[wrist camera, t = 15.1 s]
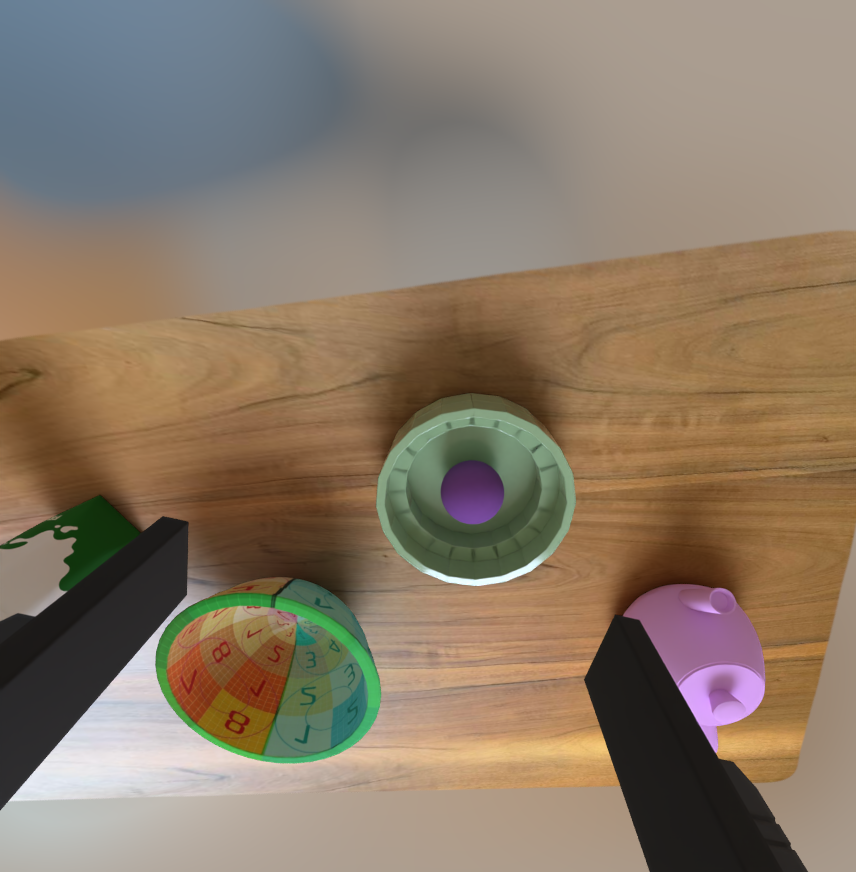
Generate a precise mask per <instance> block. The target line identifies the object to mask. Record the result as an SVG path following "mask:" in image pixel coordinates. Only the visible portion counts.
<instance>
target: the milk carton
mask: <svg viewBox="0 0 856 872" xmlns="http://www.w3.org/2000/svg"><path fill="white" fill-rule="evenodd" d="M140 534H141V533H140V532H139V531H138V530H137V529H136V528H135V527H134V526H133V525H131V524H130V523H129V522H128V521H127V520H126V519H125V518H124V517H123V516H122V515H121V514H120V513H119V512H118V511H117V510H115V509H114V508H113V507H112V506H111V505H110V504H109V503H108V502H107V501H106V500H105V499H104V498H103V497H102V496H101V495H99V496H97V497H95V498H92V499H90V500H88V501H86V502H84V503H82V504H80V505H77V506H75V507H73V508H71V509H69V510H67V511H65V512H62V513H60V514H58V515H56V516H54V517H52V518H50V519H48V520H46V521H44V522H42V523H40V524H38V525H36V526H34V527H33V528H31V529H29V530H27V531H25V532H24V533H22V534H20V535H18V536H17V537H15V538H13V539H11V540H10V541H8V542H6V543H4V544H2V545H1V546H0V621H2V620H4V619H6V618H8V617H10V616H12V615H14V614H16V613H21V614H25V615H30V616H37V615H38V614H39V613H40V612H42V611H43V610H44V609H46V608H47V607H48V606H49V605H51V604H52V603H53V602H54V601H56V600H57V599H58V598H60V597H61V596H62V595H63V594H65V593H66V592H67V591H68V590H70V589H71V588H72V587H73V586H75V585H76V584H77V583H79V582H80V581H81V580H82V579H84V578H85V577H86V576H87V575H89V574H90V573H91V572H93V571H94V570H95V569H96V568H98V567H99V566H100V565H101V564H103V563H104V562H105V561H107V560H108V559H109V558H110V557H112V556H113V555H114V554H115V553H117V552H118V551H119V550H121V549H122V548H123V547H124V546H126V545H127V544H128V543H129V542H131V541H132V540H133V539H135V538H136V537H137V536H138V535H140Z"/></svg>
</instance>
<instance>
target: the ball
mask: <svg viewBox="0 0 856 872" xmlns="http://www.w3.org/2000/svg"><path fill="white" fill-rule="evenodd" d="M441 499H442V503H443V505H444V507H445V509H446V510H447V512H448V513H449V514H450V515H451V516H452V517H453V518H455V519H456V520H458V521H460V522H462V523H466V524H480V523H483V522H486V521H488V520H490V519H491V518H492V517H494V516H495V515H496V514H497V512H498V511H499V509H500V508H501V506H502V503H503V500H504V486H503V482H502V480H501V478H500V476H499V474H498V473H497V472H496V471H495V470H494V469H493V468H492V467H491V466H489V465H488V464H486V463H484V462H481V461H476V460H468V461H463V462H460V463H458V464H456V465H455V466H453V467H452V468H451V469H450V470H449V471H448V472H447V473H446V475H445V476H444V478H443V481H442V484H441Z"/></svg>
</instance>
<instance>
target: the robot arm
mask: <svg viewBox="0 0 856 872" xmlns="http://www.w3.org/2000/svg"><path fill="white" fill-rule="evenodd" d="M187 565H188V522H187V521H183V520H178V519H174V518H169V517H164V516H163V517H161V518H160V519H159V520H157V521H156V522H155V523H154V524H152V525H151V526H150V527H149V528H147V529H146V530H145V531H143V532H142V533H141V534H140V535H138V536H137V537H136V538H135V539H133V540H132V541H131V542H129V543H128V544H127V545H126V546H124V547H123V548H122V549H121V550H119V551H118V552H117V553H115V554H114V555H113V556H112V557H110V558H109V559H108V560H107V561H105V562H104V563H103V564H101V565H100V566H99V567H98V568H96V569H95V570H94V571H93V572H91V573H90V574H89V575H87V576H86V577H85V578H84V579H82V580H81V581H80V582H79V583H77V584H76V585H75V586H73V587H72V588H71V589H70V590H68V591H67V592H66V593H65V594H63V595H62V596H61V597H60V598H58V599H57V600H56V601H54V602H53V603H52V604H51V605H49V606H48V607H47V608H46V609H44V610H43V611H42V612H40V613H39V614H38V615H37V616H30V615H25V614H21V613H16V614H14V615H12V616H10V617H8V618H6V619H4V620H2V621H0V810H1V809H2V808H3V807H4V805H5V804H6V803H7V802H8V801H9V800H10V799H11V797H12V796H13V795H14V794H15V793H16V792H17V790H18V789H19V788H20V787H21V786H22V785H23V784H24V782H25V781H26V780H27V779H28V778H29V777H30V775H31V774H32V773H33V772H34V771H35V770H36V769H37V767H38V766H39V765H40V764H41V763H42V762H43V760H44V759H45V758H46V757H47V756H48V755H49V754H50V752H51V751H52V750H53V749H54V748H55V747H56V745H57V744H58V743H59V742H60V741H61V740H62V739H63V737H64V736H65V735H66V734H67V733H68V732H69V730H70V729H71V728H72V727H73V726H74V725H75V723H76V722H77V721H78V720H79V719H80V718H81V717H82V715H83V714H84V713H85V712H86V711H87V710H88V708H89V707H90V706H91V705H92V704H93V703H94V702H95V700H96V699H97V698H98V697H99V696H100V695H101V693H102V692H103V691H104V690H105V689H106V688H107V687H108V685H109V684H110V683H111V682H112V681H113V680H114V678H115V677H116V676H117V675H118V674H119V673H120V671H121V670H122V669H123V668H124V667H125V666H126V665H127V663H128V662H129V661H130V660H131V659H132V658H133V656H134V655H135V654H136V653H137V652H138V651H139V650H140V648H141V647H142V646H143V645H144V644H145V643H146V641H147V640H148V639H149V638H150V637H151V636H152V635H153V633H154V632H155V631H156V630H157V629H158V628H159V626H160V625H161V624H162V623H163V622H164V621H165V620H166V618H167V617H168V616H169V615H170V614H171V613H172V611H173V610H174V609H175V608H176V607H177V606H178V604H179V603H180V602H181V601H182V600H183V599H184V598H185V596H186V595H187ZM584 681H585V683H586V686H587V689H588V692H589V695H590V698H591V701H592V704H593V707H594V710H595V713H596V716H597V719H598V722H599V724H600V727H601V730H602V733H603V736H604V739H605V742H606V745H607V748H608V751H609V754H610V757H611V760H612V763H613V766H614V768H615V771H616V774H617V777H618V780H619V783H620V786H621V789H622V792H623V795H624V797H625V800H626V803H627V806H628V809H629V812H630V815H631V818H632V821H633V824H634V827H635V830H636V833H637V836H638V839H639V842H640V844H641V848H642V850H643V853H644V856H645V859H646V862H647V865H648V868H649V871H650V872H808V871H807V869H806V868H805V866H804V865H803V863H802V861H801V860H800V858H799V856H798V855H797V853H796V852H795V850H792V849H791V846H790V845H791V843H790V842H789V840H788V838H787V837H786V835H785V834H784V832H783V831H782V829H781V827H780V825H779V824H776V822H775V817H774V816H773V814H772V812H771V811H770V809H769V808H768V806H767V804H766V803H765V801H764V800H763V798H762V796H761V794H760V793H759V791H758V790H757V788H756V787H755V786H754V785H753V784H752V783H751V781H750V780H749V779H748V778H747V777H746V776H745V775H744V774H743V772H742V771H741V770H740V769H739V768H738V767H737V766H736V764H735V763H734V762H731V761H727V760H722V759H719V758H718V757H717V755H716V753H715V751H714V750H713V748H712V746H711V744H710V743H709V741H708V739H707V737H706V736H705V734H704V732H703V730H702V729H701V727H700V725H699V723H698V722H697V720H696V718H695V716H694V715H693V713H692V711H691V709H690V707H689V706H688V704H687V702H686V700H685V699H684V697H683V695H682V693H681V692H680V690H679V688H678V686H677V685H676V683H675V681H674V679H673V678H672V676H671V674H670V672H669V671H668V669H667V667H666V665H665V664H664V662H663V660H662V658H661V657H660V655H659V653H658V651H657V650H656V648H655V646H654V644H653V643H652V641H651V639H650V637H649V636H648V634H647V632H646V630H645V629H644V627H643V625H642V623H641V622H640V620H638V619H633V618H629V617H624V616H620V615H615V616H614V618H613V620H612V622H611V624H610V626H609V629H608V631H607V633H606V635H605V637H604V639H603V641H602V643H601V645H600V647H599V650H598V652H597V654H596V656H595V658H594V660H593V662H592V664H591V666H590V668H589V670H588V673H587V675H586V677H585V679H584Z"/></svg>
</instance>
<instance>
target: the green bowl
mask: <svg viewBox="0 0 856 872" xmlns="http://www.w3.org/2000/svg"><path fill="white" fill-rule="evenodd" d="M468 460H476V461H481V462H484V463H486V464H488V465H489V466H491V467H492V468H493V469H494V470H495V471H496V472H497V473H498V474H499V476H500V478H501V480H502V482H503V486H504V500H503V503H502V506H501V508H500V509H499V511H498V512H497V514H496V515H495V516H494V517H492V518H491V519H490V520H488V521H486V522H483V523H480V524H466V523H462V522H460V521H458V520H456V519H455V518H453V517H452V516H451V515H450V514H449V513H448V512H447V510H446V509H445V507H444V505H443V503H442V499H441V484H442V481H443V478H444V476H445V475H446V473H447V472H448V471H449V470H450V469H451V468H452V467H453V466H455V465H456V464H458V463H460V462H463V461H468ZM575 505H576V497H575V486H574V476H573V472H572V470H571V468H570V466H569V464H568V462H567V460H566V458H565V456H564V454H563V452H562V450H561V448H560V447H559V445H558V444H557V442H556V441H555V440H554V438H553V437H552V435H551V434H550V432H549V431H548V429H547V428H546V427H545V426H544V425H543V424H542V423H541V422H540V421H539V420H538V419H537V418H536V417H535V416H534V415H533V414H531V413H530V412H529V411H528V410H527V409H526V408H524V407H522V406H520V405H517V404H515V403H513V402H511V401H509V400H507V399H504V398H502V397H500V396H492V395H484V394H476V393H468V394H462V395H457V396H452V397H446V398H441V399H439V400H437V401H436V402H434V403H432V404H430V405H428V406H426V407H424V408H423V409H421V410H419V411H417V412H416V413H415V414H414V415H413V416H412V417H411V418H410V419H409V420H408V421H407V422H406V423H405V424H404V425H403V426H402V428H401V429H400V430H399V431H398V432H397V434H396V436H395V438H394V441H393V443H392V445H391V447H390V449H389V452H388V454H387V456H386V459H385V461H384V464H383V466H382V469H381V472H380V474H379V477H378V486H377V498H376V508H377V511H378V515H379V519H380V522H381V526H382V530H383V532H384V534H385V535H386V537H387V538H388V540H389V541H390V543H391V544H392V546H393V547H394V548H395V550H396V551H397V553H398V554H399V555H400V556H401V557H403V558H404V559H405V560H406V561H408V562H409V563H410V564H411V565H413V566H414V567H415V568H416V569H418V570H419V571H421V572H423V573H425V574H428V575H430V576H432V577H435V578H437V579H440V580H442V581H445V582H448V583H456V584H463V585H471V586H480V585H487V584H495V583H503V582H506V581H508V580H511V579H513V578H516V577H518V576H520V575H523V574H525V573H528V572H530V571H532V570H533V569H534V568H535V567H537V566H538V565H539V564H540V563H542V562H543V561H544V560H546V559H547V558H548V557H549V556H551V555H552V554H553V553H554V551H555V550H556V548H557V547H558V545H559V544H560V542H561V541H562V539H563V538H564V536H565V535H566V533H567V532H568V530H569V527H570V523H571V520H572V516H573V512H574V508H575Z"/></svg>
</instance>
